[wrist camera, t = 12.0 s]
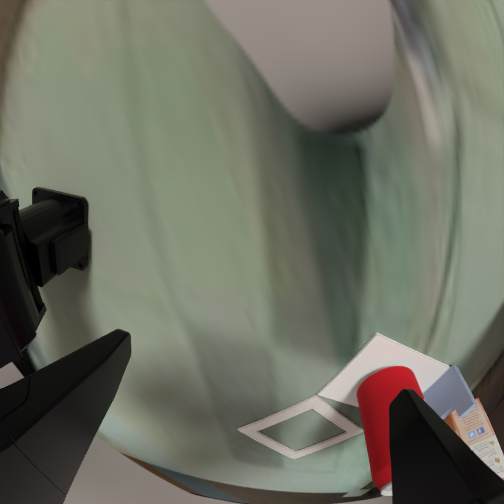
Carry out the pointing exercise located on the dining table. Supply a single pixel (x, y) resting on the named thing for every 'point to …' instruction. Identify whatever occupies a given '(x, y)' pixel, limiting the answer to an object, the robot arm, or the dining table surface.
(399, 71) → the dining table surface
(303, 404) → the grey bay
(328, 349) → the dining table surface
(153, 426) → the dining table surface
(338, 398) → the blue bay
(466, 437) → the cracker box
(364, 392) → the beverage can
